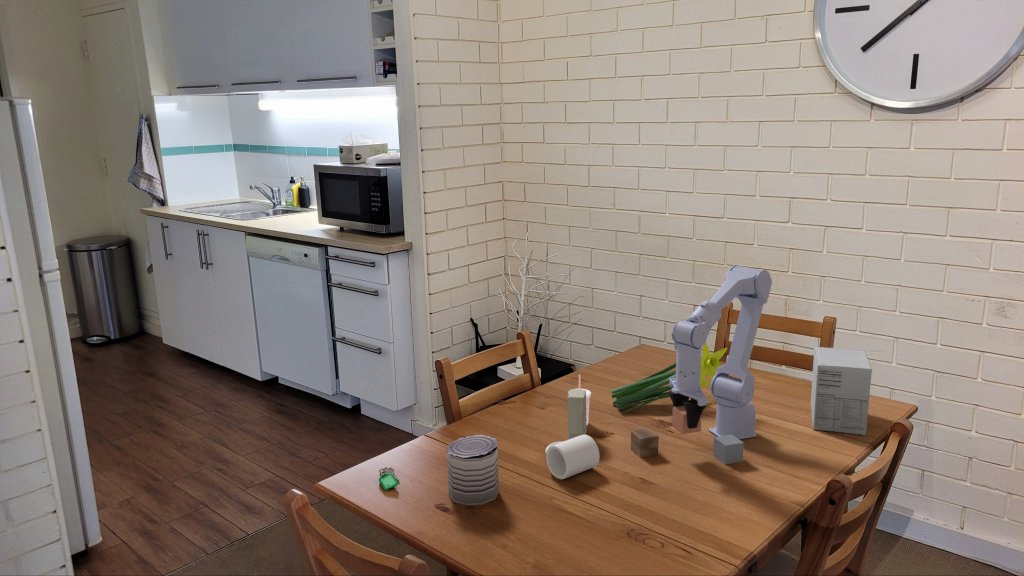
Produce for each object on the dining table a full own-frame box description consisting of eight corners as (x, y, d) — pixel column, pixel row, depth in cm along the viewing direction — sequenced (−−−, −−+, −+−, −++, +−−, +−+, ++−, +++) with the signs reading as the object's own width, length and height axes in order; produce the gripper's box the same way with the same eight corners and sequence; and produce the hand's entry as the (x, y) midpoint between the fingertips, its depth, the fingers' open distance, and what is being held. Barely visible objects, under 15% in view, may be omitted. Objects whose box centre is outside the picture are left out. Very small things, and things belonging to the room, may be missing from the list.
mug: (599, 472, 178) (600, 440, 176) (567, 484, 172) (567, 452, 170) (566, 454, 187) (566, 424, 185) (535, 466, 181) (534, 435, 180)
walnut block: (648, 446, 191) (649, 428, 189) (658, 454, 186) (658, 436, 185) (630, 449, 189) (631, 431, 188) (639, 457, 184) (640, 439, 183)
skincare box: (584, 442, 194) (584, 398, 191) (567, 441, 194) (566, 397, 192) (586, 432, 200) (586, 389, 197) (570, 431, 200) (569, 388, 198)
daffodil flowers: (606, 398, 226) (713, 360, 229) (625, 438, 216) (737, 398, 219) (602, 365, 213) (715, 325, 216) (622, 406, 203) (741, 363, 207)
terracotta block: (690, 423, 187) (690, 404, 186) (700, 431, 182) (701, 411, 181) (672, 426, 185) (672, 407, 184) (682, 434, 181) (683, 414, 179)
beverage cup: (565, 426, 204) (565, 377, 201) (572, 417, 209) (572, 370, 206) (587, 429, 202) (587, 379, 198) (593, 420, 207) (593, 372, 204)
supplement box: (867, 436, 194) (873, 369, 190) (812, 430, 198) (816, 365, 194) (860, 411, 210) (865, 349, 206) (809, 406, 214) (813, 345, 210)
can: (480, 510, 161) (478, 459, 159) (438, 497, 167) (435, 447, 164) (508, 488, 171) (507, 439, 168) (467, 476, 177) (466, 429, 174)
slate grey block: (730, 453, 186) (731, 434, 185) (742, 461, 181) (743, 442, 180) (713, 456, 185) (713, 437, 183) (724, 464, 180) (725, 445, 179)
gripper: (658, 363, 186) (657, 414, 189) (689, 382, 172) (687, 437, 175) (684, 359, 188) (682, 410, 191) (716, 378, 174) (713, 432, 177)
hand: (686, 423), depth 183 cm, fingers closed on terracotta block, 5 cm apart
